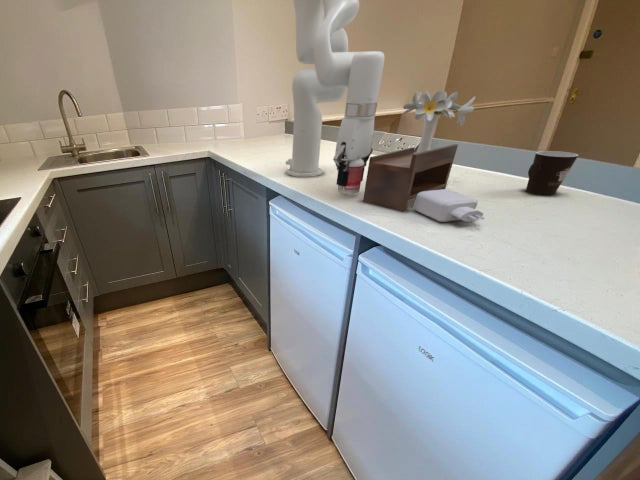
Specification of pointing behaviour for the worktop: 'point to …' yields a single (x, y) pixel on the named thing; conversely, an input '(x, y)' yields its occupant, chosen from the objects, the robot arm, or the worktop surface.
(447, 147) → the box
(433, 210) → the charger
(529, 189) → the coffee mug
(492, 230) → the worktop surface
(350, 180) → the pill bottle
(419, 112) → the flower vase
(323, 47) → the robot arm
